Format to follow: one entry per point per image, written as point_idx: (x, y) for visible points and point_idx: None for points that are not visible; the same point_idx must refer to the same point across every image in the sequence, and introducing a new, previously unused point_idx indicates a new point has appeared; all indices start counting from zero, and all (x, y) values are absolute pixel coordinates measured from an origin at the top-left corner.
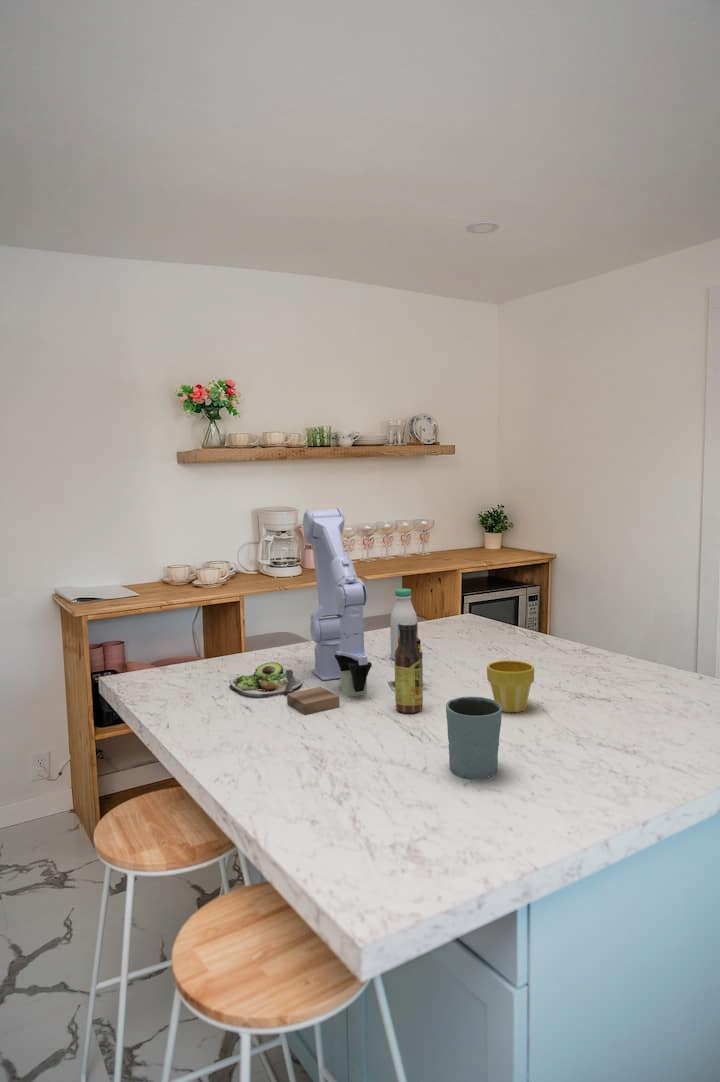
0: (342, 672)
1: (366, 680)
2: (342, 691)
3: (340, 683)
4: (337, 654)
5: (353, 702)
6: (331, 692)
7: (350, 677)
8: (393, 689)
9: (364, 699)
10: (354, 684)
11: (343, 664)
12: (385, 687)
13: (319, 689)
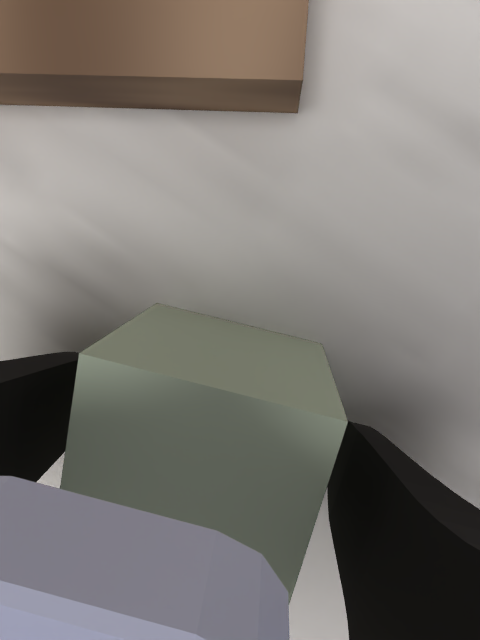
0: (293, 423)
1: None
2: (276, 335)
3: (326, 365)
4: (47, 490)
5: (17, 262)
6: (45, 72)
7: (76, 390)
8: None
9: None
10: (21, 359)
11: (412, 560)
12: None
13: (221, 9)
